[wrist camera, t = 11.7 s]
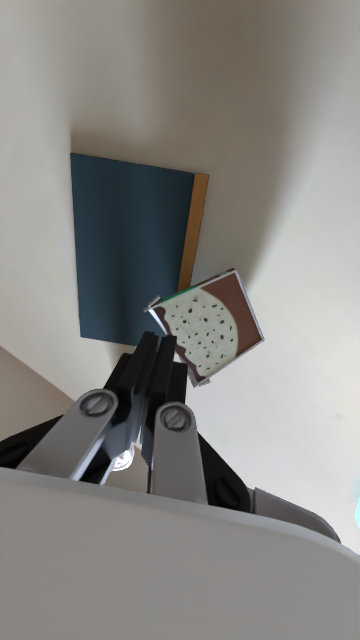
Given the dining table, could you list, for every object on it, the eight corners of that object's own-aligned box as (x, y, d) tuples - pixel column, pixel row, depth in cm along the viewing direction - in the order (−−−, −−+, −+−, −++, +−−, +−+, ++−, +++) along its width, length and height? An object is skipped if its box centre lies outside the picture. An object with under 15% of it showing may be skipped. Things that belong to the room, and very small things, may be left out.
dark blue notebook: (72, 153, 23) (67, 151, 22) (208, 176, 23) (208, 174, 22) (81, 335, 32) (79, 338, 31) (178, 351, 32) (177, 354, 31)
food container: (210, 250, 26) (139, 291, 26) (231, 255, 21) (140, 307, 21) (244, 328, 31) (184, 362, 32) (268, 349, 26) (195, 390, 26)
